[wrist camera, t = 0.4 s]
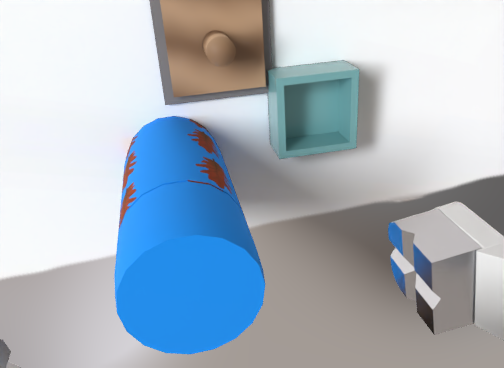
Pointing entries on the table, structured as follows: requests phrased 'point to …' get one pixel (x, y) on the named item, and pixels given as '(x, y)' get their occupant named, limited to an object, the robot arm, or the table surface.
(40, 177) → the table surface
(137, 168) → the thermos
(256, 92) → the mat
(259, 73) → the lid
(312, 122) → the teal open box
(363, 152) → the table surface
